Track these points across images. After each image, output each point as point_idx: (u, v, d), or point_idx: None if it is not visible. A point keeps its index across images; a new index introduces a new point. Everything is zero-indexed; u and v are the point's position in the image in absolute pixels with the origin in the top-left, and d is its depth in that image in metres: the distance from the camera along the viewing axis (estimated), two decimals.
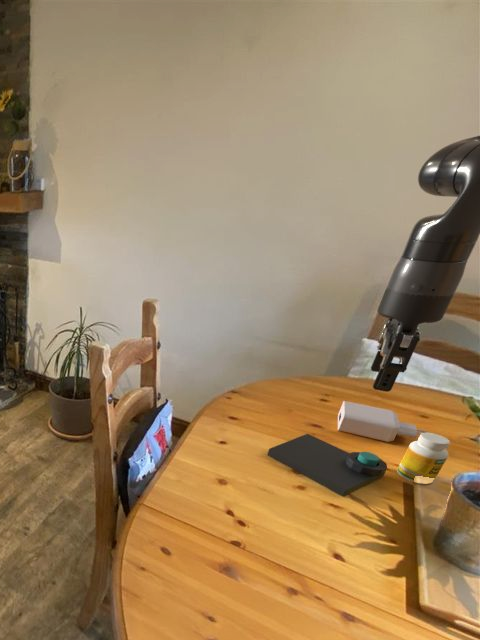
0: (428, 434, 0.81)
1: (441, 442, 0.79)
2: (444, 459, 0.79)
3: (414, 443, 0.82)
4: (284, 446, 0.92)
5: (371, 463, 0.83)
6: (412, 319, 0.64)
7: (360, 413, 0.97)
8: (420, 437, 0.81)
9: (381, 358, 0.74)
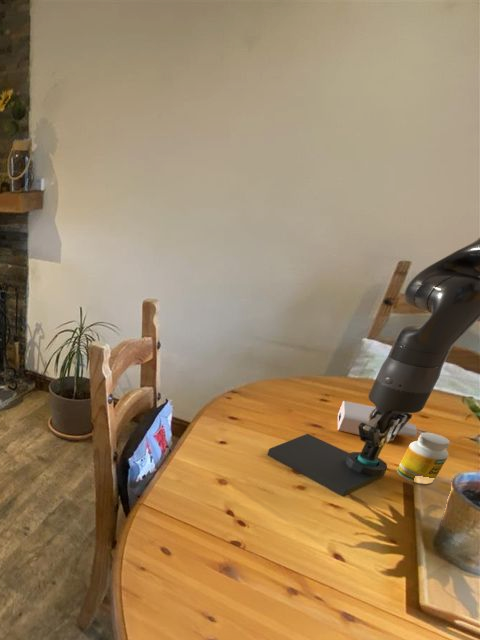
0: (428, 434, 0.81)
1: (441, 442, 0.79)
2: (444, 459, 0.79)
3: (414, 443, 0.82)
4: (284, 446, 0.92)
5: (370, 465, 0.83)
6: (383, 406, 0.77)
7: (360, 413, 0.97)
8: (420, 437, 0.81)
9: None
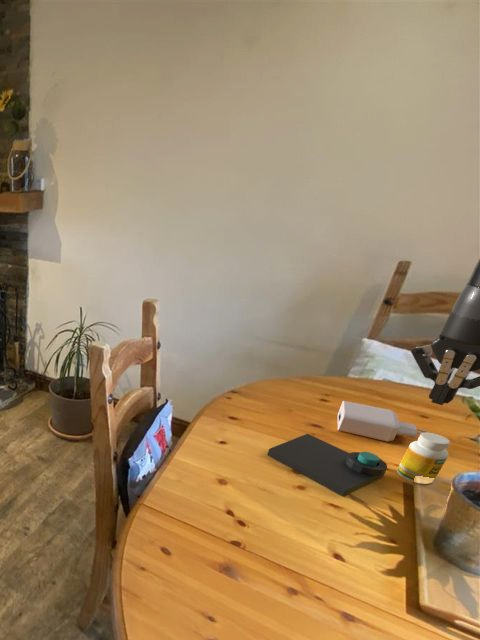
0: (428, 434, 0.81)
1: (441, 442, 0.79)
2: (444, 459, 0.79)
3: (414, 443, 0.82)
4: (284, 446, 0.92)
5: (371, 463, 0.83)
6: None
7: (360, 413, 0.97)
8: (420, 437, 0.81)
9: None
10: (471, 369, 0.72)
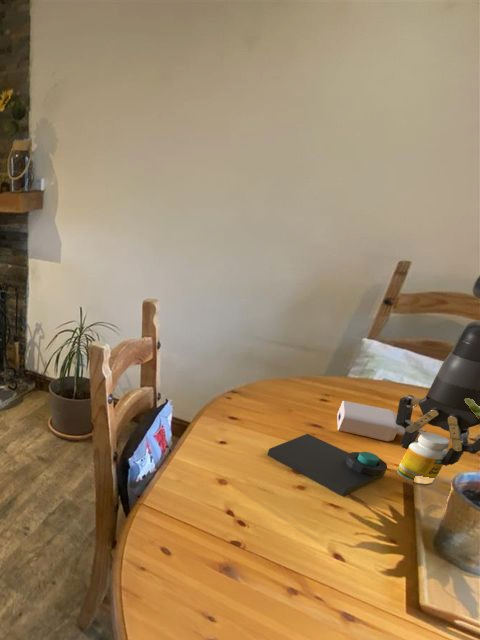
0: (428, 434, 0.81)
1: (441, 442, 0.79)
2: None
3: (414, 443, 0.82)
4: (284, 446, 0.92)
5: (371, 463, 0.83)
6: None
7: (360, 413, 0.97)
8: (420, 437, 0.81)
9: None
10: None
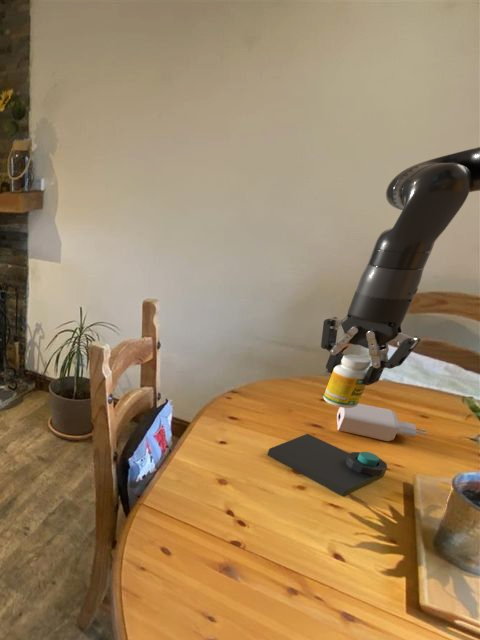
0: (351, 355, 0.79)
1: (362, 361, 0.77)
2: None
3: (338, 365, 0.81)
4: (284, 446, 0.92)
5: (371, 463, 0.83)
6: None
7: (360, 413, 0.98)
8: (343, 358, 0.79)
9: None
10: None
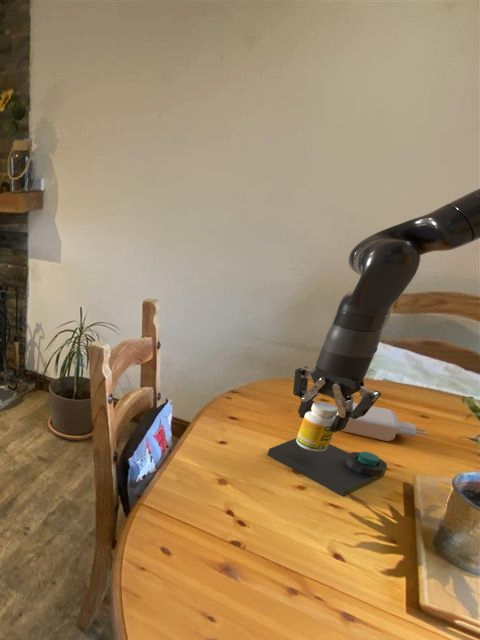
0: (320, 403, 0.85)
1: (329, 410, 0.83)
2: None
3: (308, 412, 0.86)
4: (284, 446, 0.92)
5: (371, 463, 0.83)
6: None
7: None
8: (312, 406, 0.85)
9: None
10: None
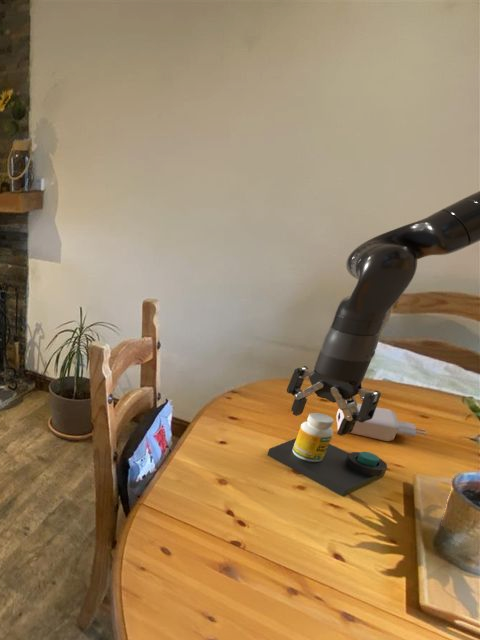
0: (316, 414, 0.86)
1: (325, 421, 0.84)
2: (328, 437, 0.84)
3: (304, 423, 0.87)
4: (284, 446, 0.92)
5: (371, 463, 0.83)
6: None
7: None
8: (308, 417, 0.86)
9: None
10: None
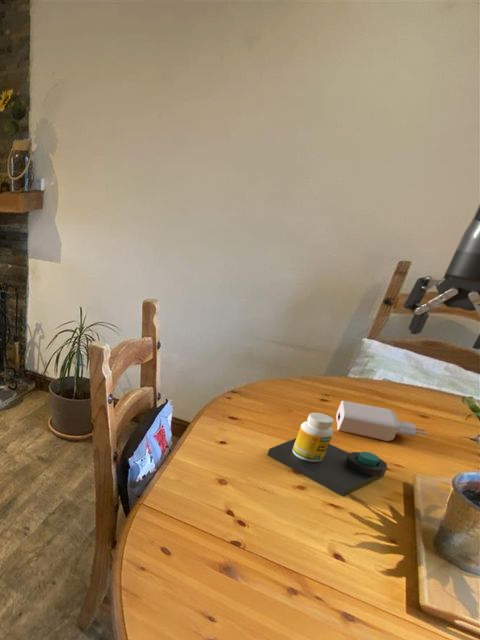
0: (316, 414, 0.86)
1: (325, 421, 0.84)
2: (328, 437, 0.84)
3: (304, 423, 0.87)
4: (284, 446, 0.92)
5: (371, 463, 0.83)
6: None
7: (359, 413, 0.98)
8: (308, 417, 0.86)
9: None
10: (474, 308, 0.71)
